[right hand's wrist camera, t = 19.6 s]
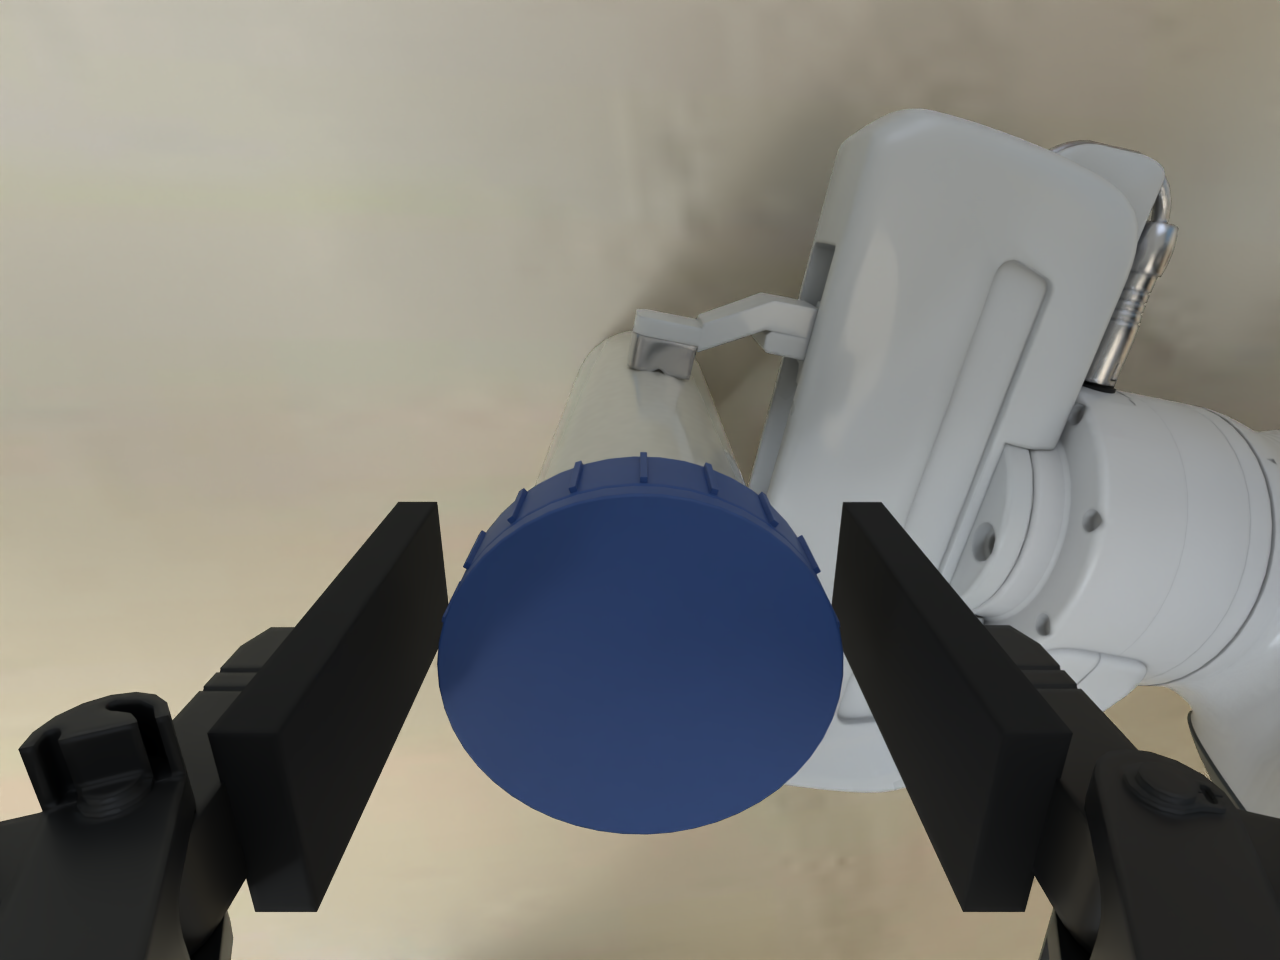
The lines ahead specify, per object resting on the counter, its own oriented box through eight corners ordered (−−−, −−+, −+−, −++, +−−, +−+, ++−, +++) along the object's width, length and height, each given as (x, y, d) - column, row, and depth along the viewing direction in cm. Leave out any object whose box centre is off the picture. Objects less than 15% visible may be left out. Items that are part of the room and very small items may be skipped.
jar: (597, 310, 26) (535, 460, 10) (726, 355, 26) (848, 562, 11) (557, 435, 28) (452, 724, 12) (679, 474, 28) (726, 800, 13)
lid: (857, 469, 11) (891, 510, 10) (788, 777, 13) (808, 852, 12) (461, 432, 11) (432, 468, 9) (458, 752, 13) (434, 824, 12)
